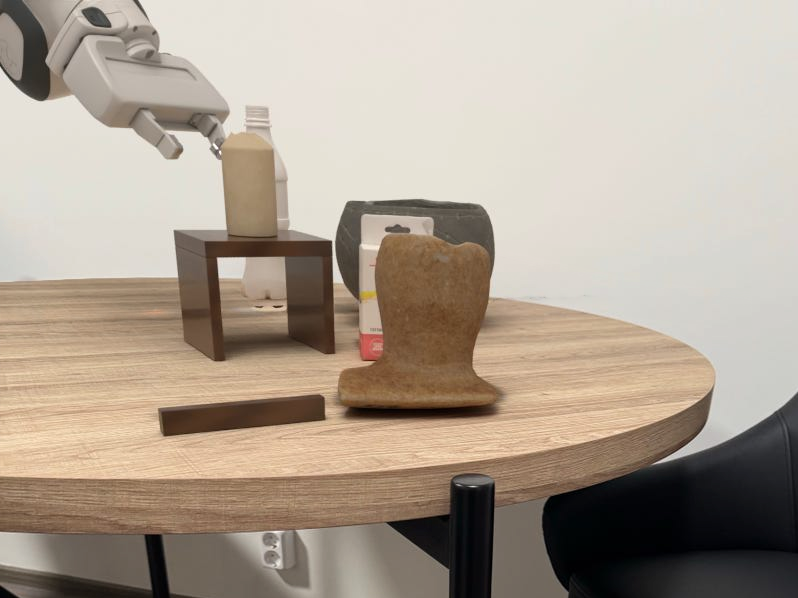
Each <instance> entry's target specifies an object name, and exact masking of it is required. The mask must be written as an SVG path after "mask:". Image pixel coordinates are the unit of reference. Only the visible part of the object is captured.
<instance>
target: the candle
mask: <svg viewBox="0 0 798 598" xmlns="http://www.w3.org/2000/svg"><path fill="white" fill-rule="evenodd" d="M226 138H227V139H226V140H225V141H224V143H223V144H222V145H221V160H220V161H221V172H222V185H223V199H224V213H225V226H226V230H227V233H228V234H230V235H235V236H246V237H271V236H277V234H278V224H277V203H276V183H275V163H274V149H273V148H272V146H271V145H270V144H269V143H268V142H267V141H265V140H264V139H263V138H262V137H261V136H258V135H257V134H255V133H247V132H246V131H240V132H237V133H236V134H235V133H234V132H232V131H230V133H229V135H228V136H226Z"/></svg>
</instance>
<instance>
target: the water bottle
mask: <svg viewBox="0 0 798 598" xmlns="http://www.w3.org/2000/svg"><path fill="white" fill-rule="evenodd" d="M244 108H245V118H244V120H245V123H243V126H244V127H246V128H245V129H246V130H245V132H247V133H255V134H257V135H258V136H261V137H262V138H263V139H264V140H265V141H267V142H268V143H269V144H270V145H271V146H272V148H273V149H274V163H275V183H276V203H277V224H278V230H289V229H290V225H291V220H290V219H291V218H290V215H289V196H288V180H289V178H288V172H287V168H286V166H285V163H284V161H283V160H282V157H281V155H280V153H279V151H278V149H277V147H276V145H275V143H274V141H273V137H272V133H271V128H272V127H273V126H272V124H271V119H270V113H269V109H270V108H269V106H263V105H262V106H261V105H245V107H244ZM240 287H241V291H242V292H241V293H242V295H243V296H244V297H246V298H248V299H255V300H266V299H269V300H285V299H286V300H287V295H286V274H285V257H245V265H244V271H243V274H242V278H241V281H240ZM284 306H285V305H272V307H273V308H275V309H280V308H283V307H284ZM254 308H257V309H258V308H259V309H261V308H264V305H260V306H259V305H257V306H254Z"/></svg>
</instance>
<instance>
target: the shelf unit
mask: <svg viewBox="0 0 798 598" xmlns="http://www.w3.org/2000/svg"><path fill="white" fill-rule="evenodd" d="M173 239H174V245H175V246H174V249H175V260H176V269H177V280H178V290H179V300H180V310H181V320H182V321H181V322H182V330H183V331H182V332H183V341H184V342H186V343H188V344H189V345H190V346H192V347H193V348H194V349H196V350H198V351H199V352H201V353H202V354H204V355H205V356H207V357H208V358H210V359H211V360H212V361H214V362H220V361H221V362H222V361H226V353H225V351H226V350H225V340H224V339H225V337H224V328H223V325H224V324H223V315H222V302H221V291H220V290H221V287H220V276H219V275H220V274H219V263H218V258H221V259H224V258H225V259H226V258H228V259H229V258H231V259H232V258H246V257H285V274H286V295H287V298H286V315H287V333H288V336H290V337H291V338H294V339H295V340H298V341H300V342H301V343H303V344H305V345H308V346H309V347H311V348H314V349H315V350H317V351H319V352H321V353H323V354H325V355H328V354H329V355H331V354H336V347H335V345H336V336H335V334H336V333H335V299H334V293H335V292H334V259H333V256H334V255H333V252H334V251H333V240H331V239H329V238H328V239H327V238H324V237H320V236H317V235H313V234H309V233H306V232H302V231H298V230H294V229H288V230H278V234H277V236H271V237H246V236H235V235H230V234H228V233H227V229H173Z"/></svg>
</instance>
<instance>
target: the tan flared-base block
mask: <svg viewBox="0 0 798 598" xmlns="http://www.w3.org/2000/svg"><path fill="white" fill-rule="evenodd" d="M490 272H491V270H490V257H489V254H488V252H487V251H486V250H485V248H483V247H482V246H480V245H478V244H475V243H471V242H465V243H463V244H461V245H452V244H450V243H448V242H445V241H444V240H441V239H439V238H437V237H435V236H429V235H417V234H411V233H390V234H387V235H386V236H385V237H384V238H383V239H382V242H381V245H380V248H379V251H378V255H377V260H376V265H375V287H376V294H377V302H378V307H379V312H380V319H381V326H382V332H383V352H382V354H381V356H380V357H379V359H378V360H374V362H372V363H371V364H368V365H364V366H355V367H348V368H345V369H342V370H341V372H340V373H339V377H338V380H337V381H338V382H337V393H338V401H339V403H340V405H341V406H343V407H346V408H359V409H379V410H380V409H385V410H387V409H390V410H391V409H393V410H431V409H450V408H451V409H452V408H463V407H477V406H478V407H479V406H486V405H492V404H494V403H496V402H498V400H499V396H500V395H499V391H498V389H497V388H496V387H495V386H493V384H492V383H489V382H488V381H486V380H485V379H483V378H482V377H481V376H479V375H478V374H477V373H476V371H475V369H474V366H473V361H474V351H475V346H476V343H477V338H478V335H479V333H480V330H481V328H482V325H483V323H484V319H485V316H486V312H487V309H488V304H489V301H490V291H491V279H490Z"/></svg>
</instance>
